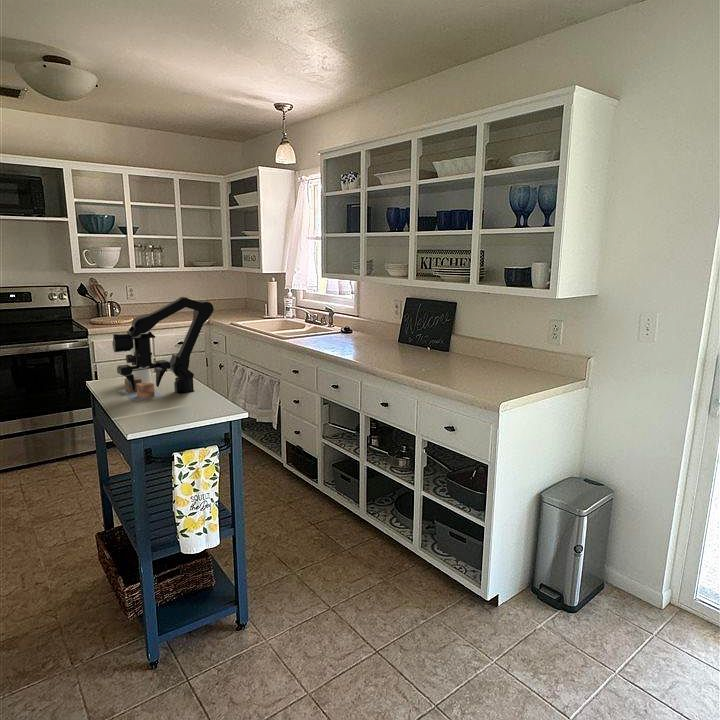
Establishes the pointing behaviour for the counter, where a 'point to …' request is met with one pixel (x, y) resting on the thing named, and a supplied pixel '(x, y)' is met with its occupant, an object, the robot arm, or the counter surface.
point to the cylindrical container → (142, 374)
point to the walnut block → (128, 386)
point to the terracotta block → (145, 390)
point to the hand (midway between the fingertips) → (145, 388)
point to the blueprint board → (134, 396)
